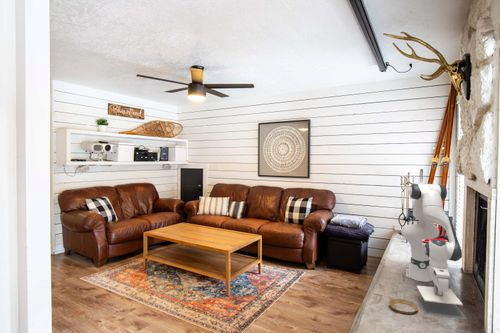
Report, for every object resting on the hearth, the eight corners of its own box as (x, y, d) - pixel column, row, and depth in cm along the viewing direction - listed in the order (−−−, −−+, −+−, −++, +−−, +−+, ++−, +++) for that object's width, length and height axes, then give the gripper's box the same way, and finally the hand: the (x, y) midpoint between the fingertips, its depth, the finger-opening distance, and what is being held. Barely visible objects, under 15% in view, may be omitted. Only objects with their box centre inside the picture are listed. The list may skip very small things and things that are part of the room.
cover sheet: (416, 286, 178) (416, 279, 178) (450, 289, 172) (450, 282, 172) (424, 300, 161) (424, 292, 160) (462, 305, 155) (462, 296, 155)
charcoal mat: (415, 298, 178) (415, 297, 178) (453, 302, 172) (453, 301, 172) (424, 314, 159) (424, 314, 159) (467, 319, 153) (467, 319, 153)
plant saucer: (408, 302, 174) (408, 298, 173) (423, 315, 159) (423, 311, 159) (384, 303, 173) (384, 299, 173) (397, 316, 158) (397, 312, 158)
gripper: (426, 261, 177) (426, 283, 177) (437, 275, 157) (437, 300, 158) (438, 262, 175) (438, 284, 175) (451, 276, 155) (450, 301, 156)
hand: (438, 292), depth 166 cm, fingers closed on cover sheet, 3 cm apart
